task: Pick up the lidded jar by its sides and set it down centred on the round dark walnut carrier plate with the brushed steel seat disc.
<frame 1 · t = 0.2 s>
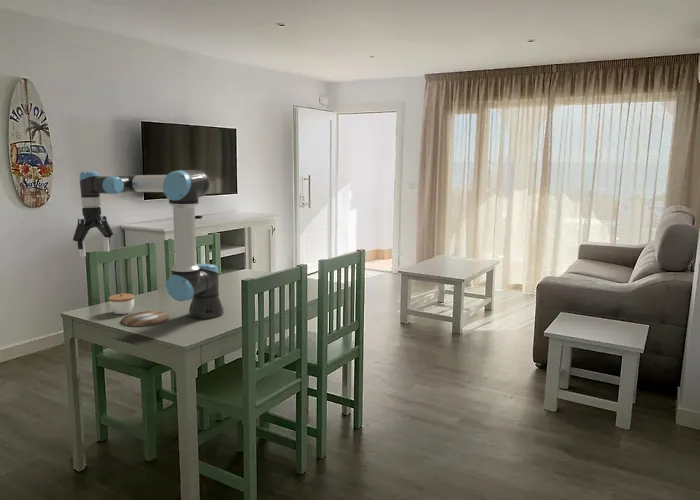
hand: (95, 253, 243), 27 cm above the table, tool pointing down, fingers open, 13 cm apart
carrier plate: (146, 319, 236), on the table
lidded jar: (122, 313, 246), on the table
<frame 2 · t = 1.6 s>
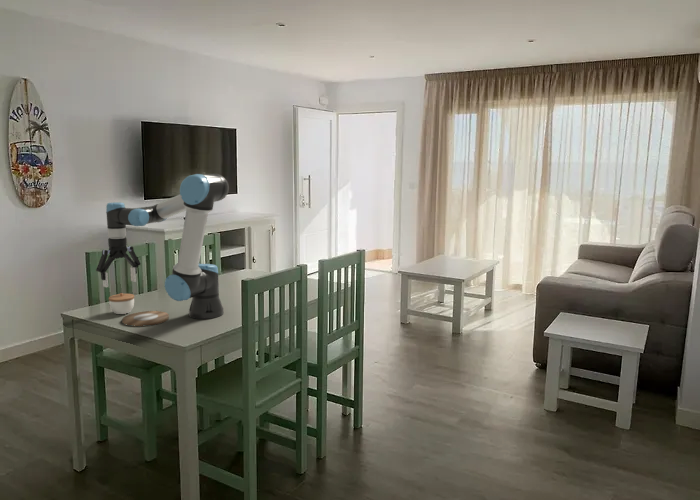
hand: (120, 284, 244), 13 cm above the table, tool pointing down, fingers open, 13 cm apart
nothing on the table moved.
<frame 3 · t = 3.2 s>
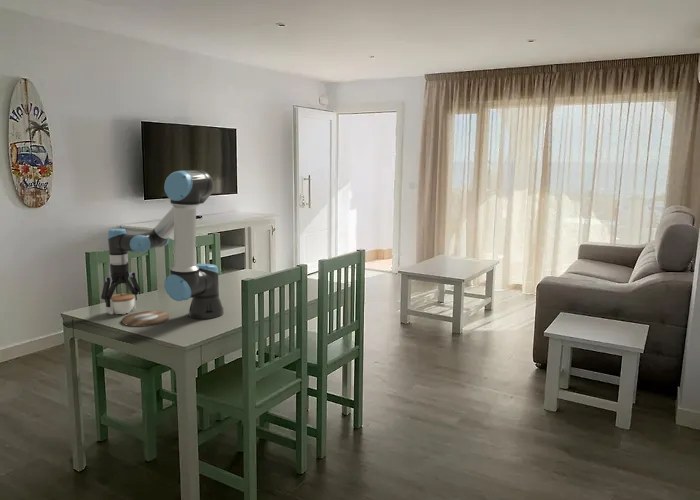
hand: (122, 310, 246), 1 cm above the table, tool pointing down, fingers closed on lidded jar, 11 cm apart
lidded jar: (122, 313, 246), on the table, touching gripper
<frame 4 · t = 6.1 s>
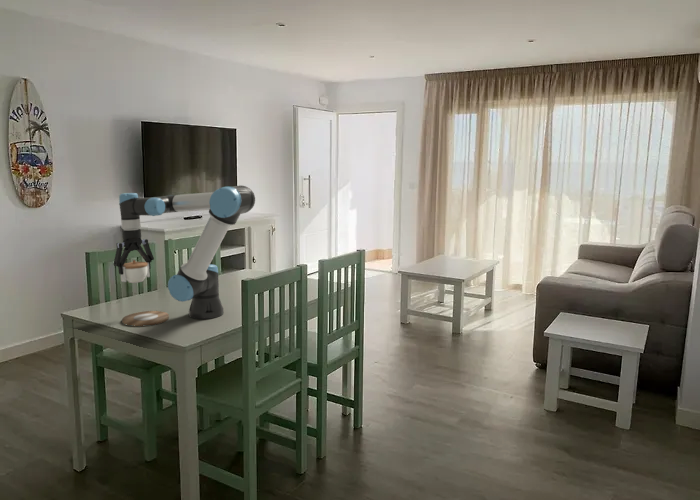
hand: (135, 279, 237), 17 cm above the table, tool pointing down, fingers closed on lidded jar, 11 cm apart
lidded jar: (136, 281, 237), point 16 cm above the table, touching gripper
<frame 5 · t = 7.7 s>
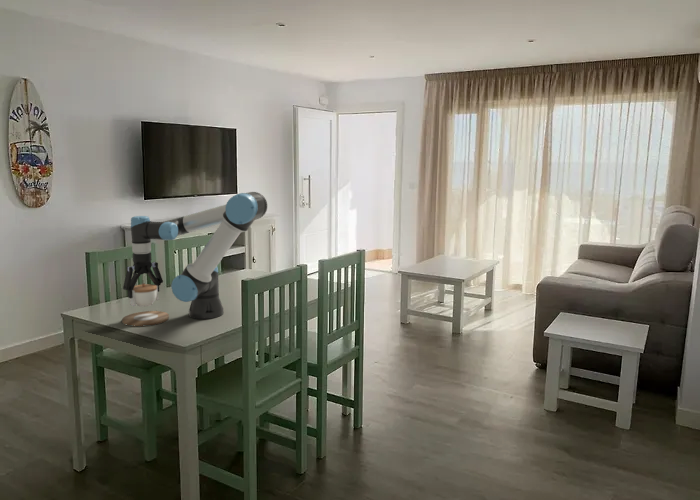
hand: (144, 302, 235), 8 cm above the table, tool pointing down, fingers closed on lidded jar, 11 cm apart
lidded jar: (144, 304, 235), point 7 cm above the table, touching gripper
when the fingers open (3 cm above the table, at t = 9.1 s): lidded jar drops 1 cm, resting on carrier plate.
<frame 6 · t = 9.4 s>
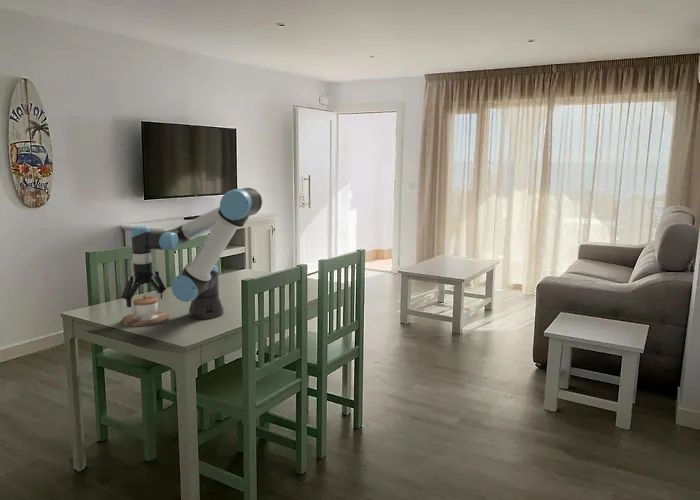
hand: (145, 310, 235), 4 cm above the table, tool pointing down, fingers open, 13 cm apart
lidded jar: (145, 317, 236), point 1 cm above the table, touching carrier plate
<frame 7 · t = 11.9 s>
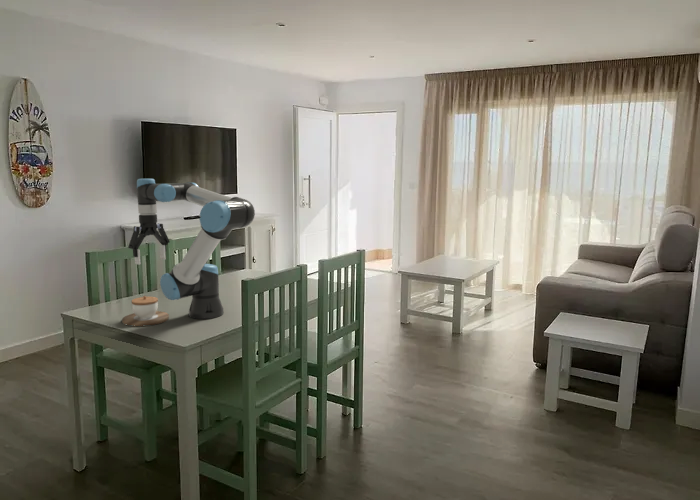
hand: (150, 261, 241), 24 cm above the table, tool pointing down, fingers open, 13 cm apart
nothing on the table moved.
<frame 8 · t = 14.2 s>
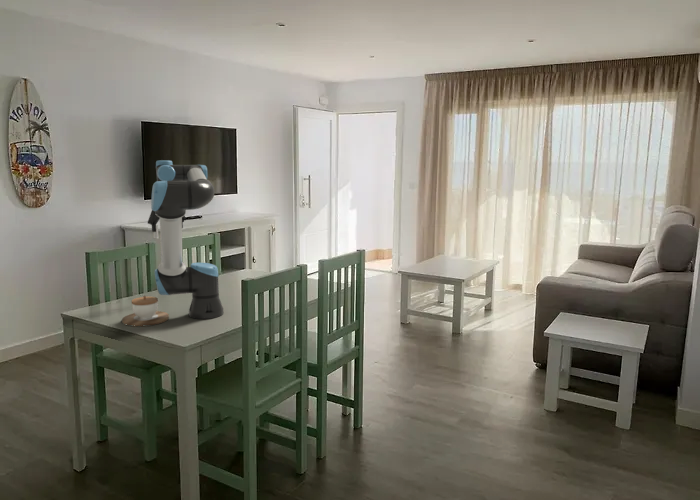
hand: (168, 236, 263), 32 cm above the table, tool pointing down, fingers open, 13 cm apart
nothing on the table moved.
at the end: lidded jar inside the target area on the carrier plate (0.1 cm from its centre), point 1.2 cm above the carrier plate's base; lidded jar tilted 0°; the gripper is holding nothing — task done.
